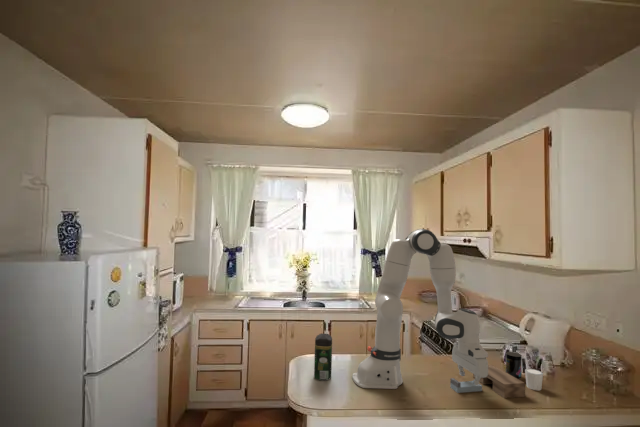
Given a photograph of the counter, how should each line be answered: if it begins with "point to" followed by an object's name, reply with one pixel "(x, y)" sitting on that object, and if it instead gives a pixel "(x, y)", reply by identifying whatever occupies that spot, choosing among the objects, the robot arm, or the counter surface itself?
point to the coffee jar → (323, 357)
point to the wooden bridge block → (503, 383)
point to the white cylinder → (534, 379)
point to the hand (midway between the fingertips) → (468, 379)
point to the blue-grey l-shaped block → (464, 386)
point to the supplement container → (514, 364)
